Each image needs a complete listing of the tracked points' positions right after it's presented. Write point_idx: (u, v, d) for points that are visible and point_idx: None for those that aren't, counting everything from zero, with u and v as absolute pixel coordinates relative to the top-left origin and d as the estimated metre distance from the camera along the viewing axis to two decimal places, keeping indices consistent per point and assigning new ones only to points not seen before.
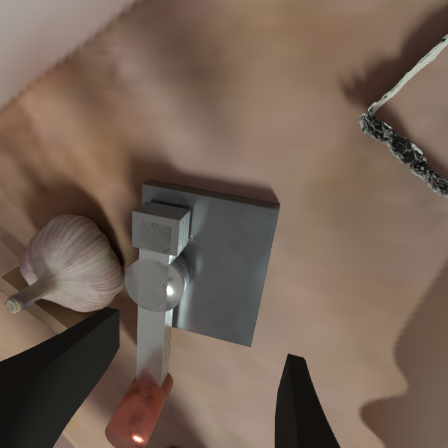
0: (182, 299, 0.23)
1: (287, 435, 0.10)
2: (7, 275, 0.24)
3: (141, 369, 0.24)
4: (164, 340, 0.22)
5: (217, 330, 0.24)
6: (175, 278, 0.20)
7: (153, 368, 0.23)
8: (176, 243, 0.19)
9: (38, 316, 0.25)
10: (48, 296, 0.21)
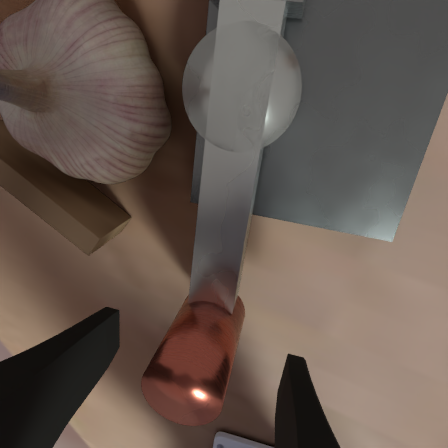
0: (274, 155, 0.13)
1: (287, 435, 0.10)
2: None
3: (199, 280, 0.13)
4: (248, 216, 0.12)
5: (332, 213, 0.14)
6: (291, 62, 0.10)
7: (222, 278, 0.13)
8: None
9: (20, 196, 0.14)
10: (35, 124, 0.11)
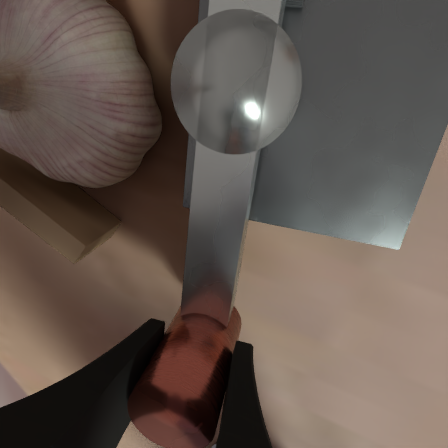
0: (271, 156, 0.12)
1: None
2: None
3: (192, 291, 0.12)
4: (244, 223, 0.11)
5: (335, 219, 0.13)
6: (290, 55, 0.09)
7: (216, 289, 0.12)
8: None
9: (1, 201, 0.14)
10: (10, 123, 0.10)
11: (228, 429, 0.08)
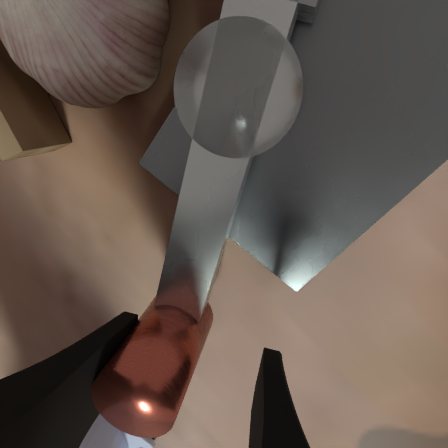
0: None
1: (257, 426, 0.10)
2: None
3: (169, 284, 0.13)
4: (228, 225, 0.11)
5: (262, 243, 0.14)
6: (294, 70, 0.09)
7: (193, 284, 0.12)
8: None
9: None
10: None
11: (270, 442, 0.08)
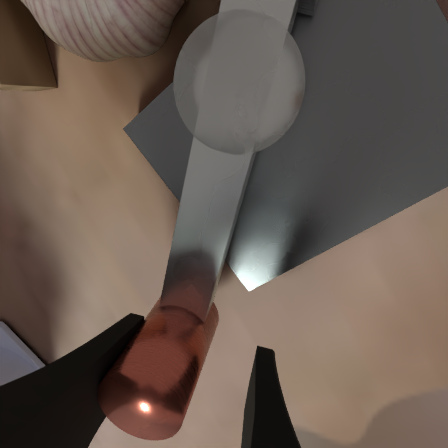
0: None
1: (249, 424, 0.10)
2: None
3: (173, 284, 0.13)
4: (232, 223, 0.11)
5: None
6: (295, 63, 0.09)
7: (197, 284, 0.12)
8: None
9: None
10: None
11: (260, 438, 0.08)
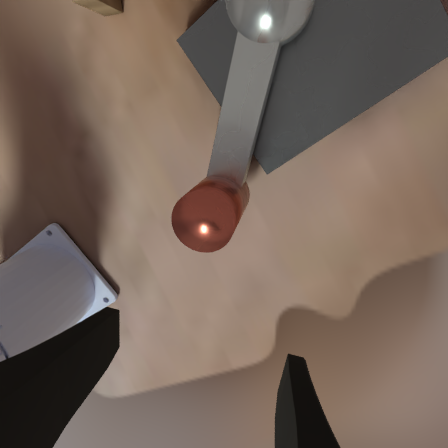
0: None
1: (287, 435, 0.10)
2: None
3: (218, 156, 0.17)
4: (264, 99, 0.15)
5: None
6: None
7: (237, 154, 0.17)
8: None
9: None
10: None
11: None
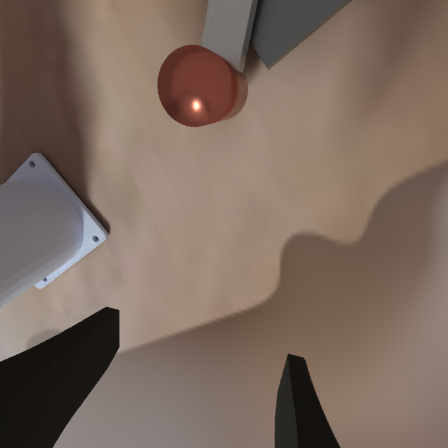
0: None
1: (287, 435, 0.10)
2: None
3: (211, 32, 0.15)
4: None
5: None
6: None
7: (232, 27, 0.15)
8: None
9: None
10: None
11: None
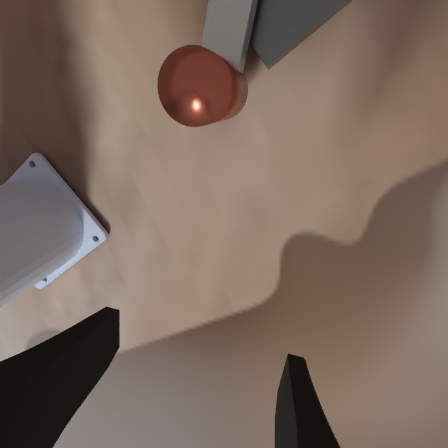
0: None
1: (287, 435, 0.10)
2: None
3: (211, 32, 0.15)
4: None
5: None
6: None
7: (232, 27, 0.15)
8: None
9: None
10: None
11: None
